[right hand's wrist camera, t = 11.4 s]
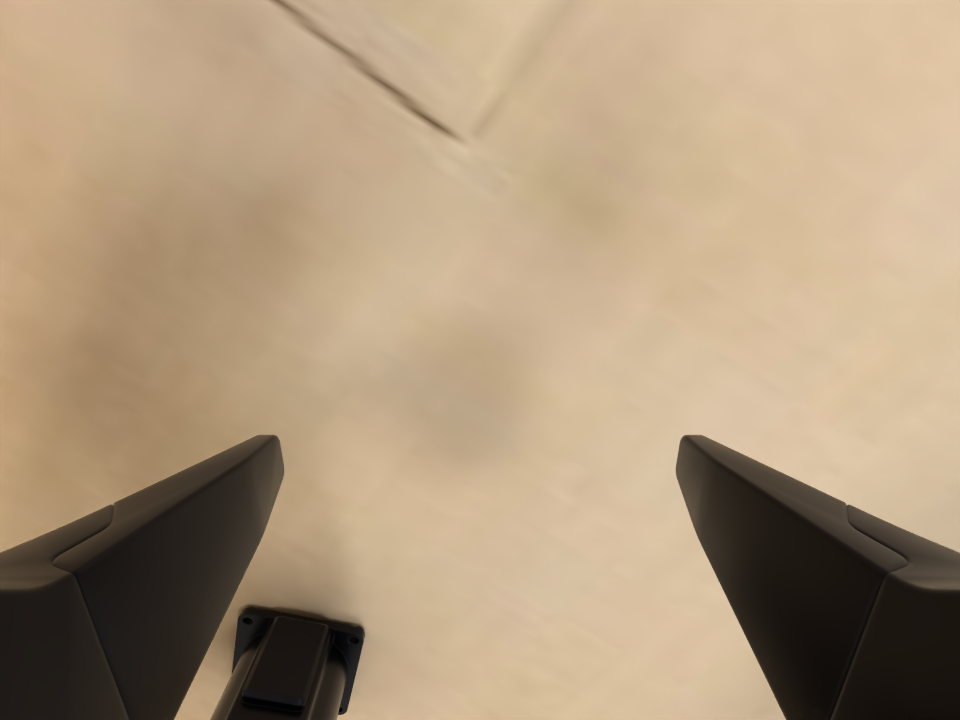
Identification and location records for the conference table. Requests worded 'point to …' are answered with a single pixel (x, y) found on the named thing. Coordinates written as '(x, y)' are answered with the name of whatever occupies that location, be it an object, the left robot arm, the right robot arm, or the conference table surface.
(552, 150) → the conference table surface
